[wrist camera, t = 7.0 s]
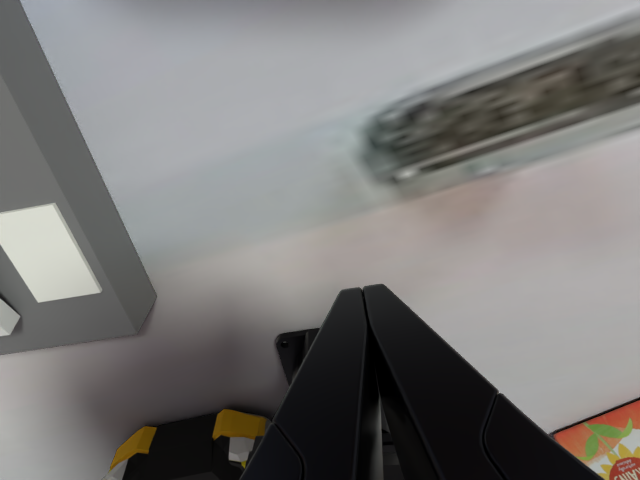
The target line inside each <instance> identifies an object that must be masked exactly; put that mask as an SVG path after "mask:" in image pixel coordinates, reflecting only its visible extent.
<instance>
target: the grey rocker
mask: <svg viewBox="0 0 640 480" xmlns="http://www.w3.org/2000/svg"><path fill="white" fill-rule="evenodd" d="M19 318H20V315H18V314H17V313H16V312H15V311H14V310H13V309H12V308H11V307H9V306H8V305H7V304H6V303H5V302H4V301H3V300H1V299H0V336H5V335H10V334H11V332H12V331H13V329H14V327H15V325H16V323H17V322H18V320H19Z"/></svg>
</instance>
